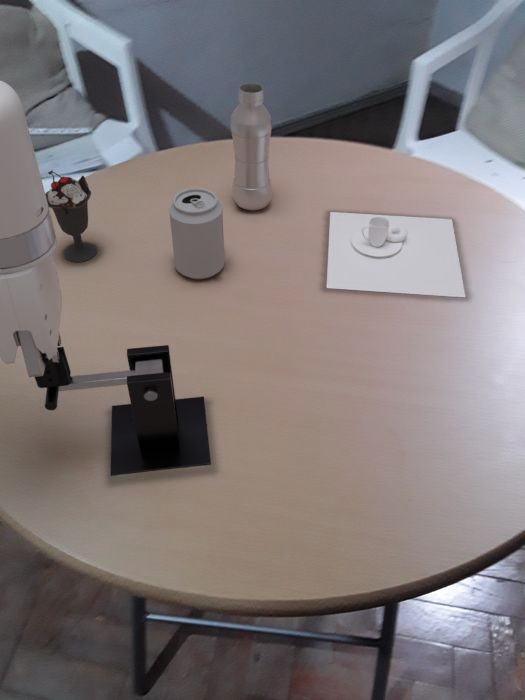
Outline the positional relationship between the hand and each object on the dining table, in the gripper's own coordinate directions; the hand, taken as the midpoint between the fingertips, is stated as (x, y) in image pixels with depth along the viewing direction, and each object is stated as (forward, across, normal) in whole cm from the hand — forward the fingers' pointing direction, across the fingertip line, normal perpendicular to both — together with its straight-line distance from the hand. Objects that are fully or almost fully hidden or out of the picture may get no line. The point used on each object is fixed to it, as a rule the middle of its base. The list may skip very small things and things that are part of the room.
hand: (55, 380), depth 70 cm
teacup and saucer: (+12, -32, +47) cm, 58 cm away
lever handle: (+2, 0, +5) cm, 5 cm away
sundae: (+12, -38, -1) cm, 40 cm away
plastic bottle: (+12, -48, +27) cm, 56 cm away
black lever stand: (+12, 0, +10) cm, 15 cm away
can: (+12, -32, +17) cm, 38 cm away
